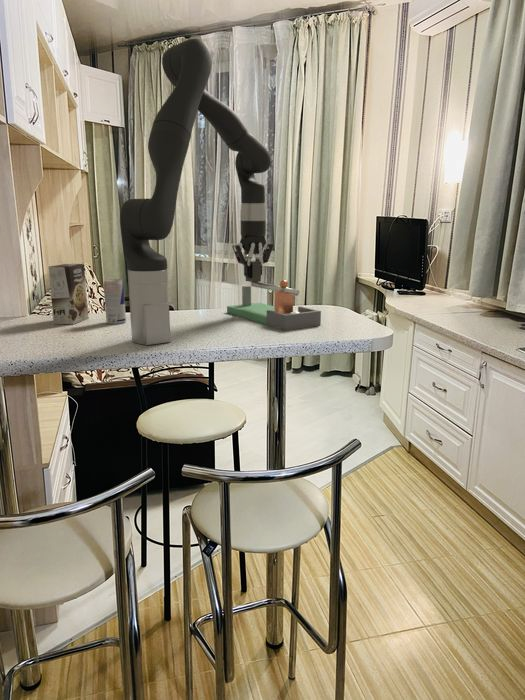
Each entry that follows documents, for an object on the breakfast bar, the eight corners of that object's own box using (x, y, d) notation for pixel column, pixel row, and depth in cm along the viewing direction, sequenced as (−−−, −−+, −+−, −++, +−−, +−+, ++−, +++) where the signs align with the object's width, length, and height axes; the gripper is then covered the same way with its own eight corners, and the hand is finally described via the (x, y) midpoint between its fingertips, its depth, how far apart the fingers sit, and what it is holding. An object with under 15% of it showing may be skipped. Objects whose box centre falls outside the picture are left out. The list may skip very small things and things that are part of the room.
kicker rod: (303, 315, 145) (304, 266, 142) (289, 317, 142) (289, 267, 139) (256, 303, 164) (256, 260, 161) (242, 305, 162) (242, 261, 158)
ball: (306, 313, 143) (298, 308, 146) (295, 315, 141) (286, 309, 144) (304, 326, 145) (295, 321, 148) (292, 328, 142) (284, 323, 145)
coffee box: (74, 324, 145) (68, 266, 141) (52, 324, 146) (46, 266, 142) (89, 318, 154) (85, 263, 150) (69, 317, 155) (64, 263, 151)
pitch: (320, 325, 145) (321, 296, 143) (285, 330, 139) (286, 300, 137) (259, 308, 170) (259, 284, 168) (227, 312, 163) (226, 286, 161)
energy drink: (128, 320, 151) (126, 279, 148) (122, 324, 146) (119, 281, 143) (110, 320, 151) (107, 279, 148) (103, 324, 146) (100, 281, 143)
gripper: (239, 219, 148) (239, 280, 152) (279, 219, 156) (279, 277, 160) (226, 219, 154) (227, 278, 158) (265, 219, 162) (265, 275, 166)
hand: (253, 277), depth 159 cm, fingers closed on kicker rod, 3 cm apart
